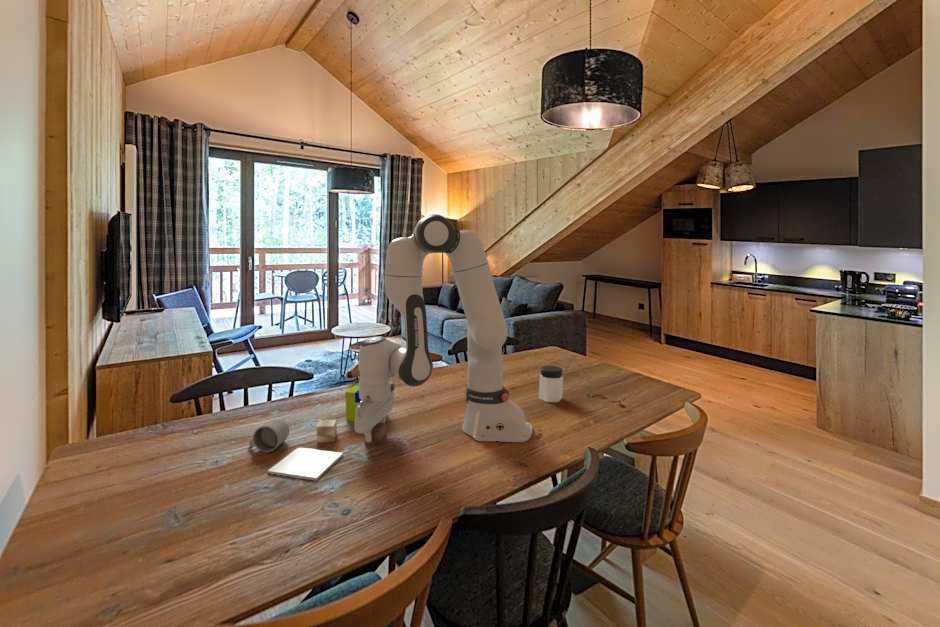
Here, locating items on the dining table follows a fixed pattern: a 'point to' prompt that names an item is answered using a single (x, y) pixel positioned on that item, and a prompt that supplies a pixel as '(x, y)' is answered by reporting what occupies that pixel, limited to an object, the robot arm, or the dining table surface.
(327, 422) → the maple block
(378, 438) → the walnut block
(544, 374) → the jar
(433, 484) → the dining table surface
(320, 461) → the white coaster
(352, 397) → the puzzle toy
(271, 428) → the ceramic mug
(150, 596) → the dining table surface
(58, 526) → the dining table surface
